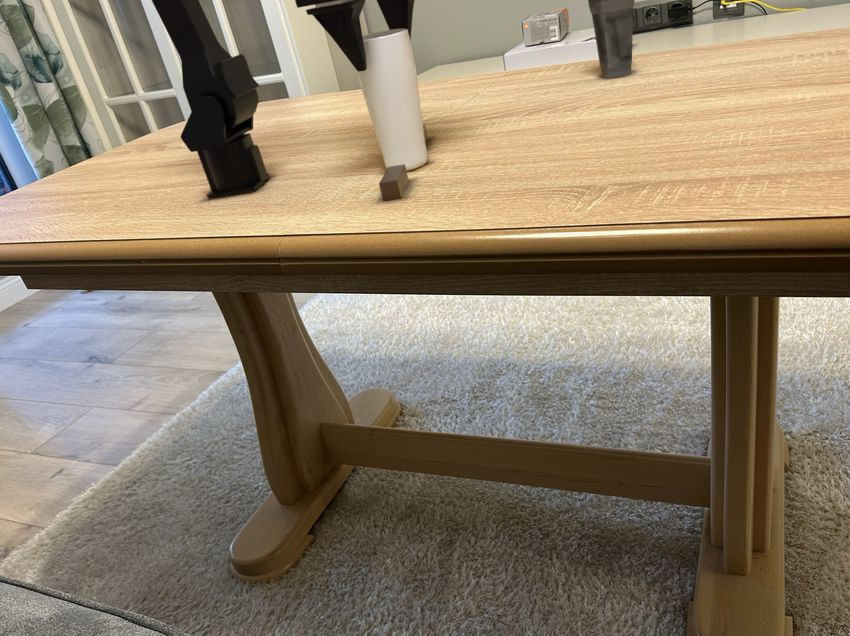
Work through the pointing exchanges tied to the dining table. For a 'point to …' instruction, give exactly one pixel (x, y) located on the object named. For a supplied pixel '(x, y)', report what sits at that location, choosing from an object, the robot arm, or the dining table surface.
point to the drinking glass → (394, 97)
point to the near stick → (393, 182)
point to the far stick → (425, 133)
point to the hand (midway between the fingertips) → (384, 61)
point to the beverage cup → (613, 35)
